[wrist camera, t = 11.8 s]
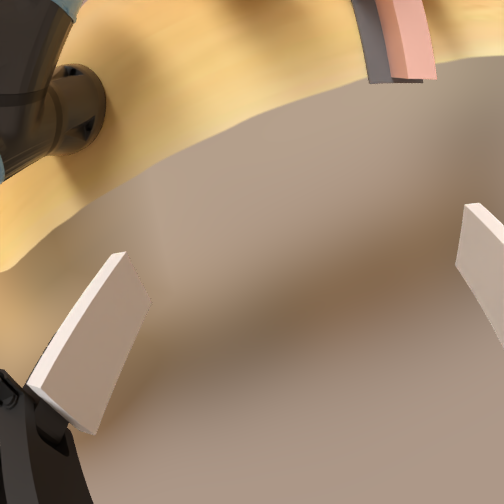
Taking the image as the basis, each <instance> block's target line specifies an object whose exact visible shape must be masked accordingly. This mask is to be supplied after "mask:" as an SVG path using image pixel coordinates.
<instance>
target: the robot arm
mask: <svg viewBox="0 0 504 504" xmlns="http://www.w3.org/2000/svg"><path fill="white" fill-rule="evenodd" d="M82 3H83V0H0V184H2V182H4V181H5V180H7V179H8V178H10V177H12V176H13V175H15V174H16V173H18V172H19V171H21V170H23V169H24V168H26V167H28V166H29V165H31V164H33V163H34V162H36V161H38V160H39V159H41V158H43V157H45V156H58V155H70V154H73V153H76V152H78V151H79V150H81V149H83V148H85V147H87V146H88V145H89V144H90V143H91V142H92V141H93V140H94V139H95V138H96V136H97V135H98V133H99V131H100V129H101V127H102V124H103V121H104V117H105V109H106V101H105V94H104V90H103V87H102V84H101V82H100V80H99V78H98V77H97V76H96V74H95V73H94V72H93V71H92V70H91V69H89V68H88V67H86V66H83V65H80V64H66V65H61V66H57V67H56V64H57V62H58V59H59V56H60V54H61V51H62V49H63V46H64V44H65V42H66V39H67V37H68V35H69V32H70V30H71V28H72V26H73V24H74V23H75V22H76V19H77V18H76V16H77V14H78V11H79V9H80V7H81V5H82ZM455 266H456V267H457V269H458V270H459V272H460V273H461V275H462V276H463V278H464V279H465V281H466V283H467V284H468V286H469V287H470V289H471V291H472V292H473V294H474V295H475V297H476V299H477V300H478V302H479V304H480V306H481V307H482V309H483V311H484V313H485V314H486V316H487V318H488V320H489V322H490V324H491V325H492V327H493V329H494V331H495V333H496V335H497V337H498V339H499V341H500V343H501V345H502V347H503V349H504V225H503V224H502V223H501V222H500V221H498V219H496V218H495V217H494V216H493V215H492V214H491V213H490V212H489V211H488V210H487V209H486V208H485V207H484V206H482V205H481V204H480V203H473V204H465V205H464V213H463V221H462V228H461V235H460V241H459V247H458V253H457V258H456V263H455ZM151 304H152V301H151V299H150V298H149V295H148V294H147V292H146V290H145V288H144V286H143V284H142V282H141V280H140V278H139V276H138V274H137V272H136V270H135V268H134V266H133V264H132V262H131V260H130V258H129V256H128V254H127V252H120V253H114V254H112V255H111V256H110V257H109V259H108V260H107V261H106V262H105V264H104V265H103V267H102V268H101V269H100V270H99V272H98V273H97V275H96V276H95V277H94V279H93V280H92V281H91V283H90V284H89V285H88V287H87V288H86V290H85V291H84V292H83V294H82V295H81V297H80V298H79V300H78V301H77V302H76V304H75V305H74V307H73V308H72V310H71V311H70V313H69V314H68V316H67V317H66V319H65V320H64V322H63V324H62V325H61V326H60V328H59V330H58V331H57V332H56V333H55V334H54V336H53V337H52V339H51V340H50V342H49V344H48V347H46V349H45V350H44V352H43V355H42V356H41V357H40V359H39V361H38V362H37V364H36V366H35V367H34V369H33V371H32V372H31V374H30V376H29V378H28V380H27V381H26V383H25V385H24V386H23V388H21V387H20V386H19V385H18V384H17V383H16V382H15V381H14V380H13V378H12V377H11V376H10V375H9V374H8V373H7V372H6V371H5V370H3V369H0V504H93V501H92V498H91V496H90V493H89V490H88V487H87V484H86V481H85V478H84V475H83V472H82V469H81V465H80V462H79V458H78V455H77V451H76V447H75V444H74V440H73V436H72V433H71V431H70V430H69V429H68V428H67V426H68V423H71V424H72V425H73V426H74V427H75V428H77V429H78V430H79V431H82V432H86V433H89V434H92V435H96V432H97V429H98V427H99V424H100V422H101V419H102V416H103V414H104V411H105V409H106V406H107V404H108V401H109V399H110V396H111V394H112V391H113V389H114V387H115V384H116V382H117V379H118V377H119V375H120V372H121V370H122V368H123V365H124V363H125V361H126V359H127V356H128V354H129V352H130V350H131V347H132V345H133V343H134V340H135V338H136V336H137V334H138V332H139V330H140V327H141V325H142V323H143V321H144V319H145V317H146V315H147V312H148V311H149V308H150V306H151Z"/></svg>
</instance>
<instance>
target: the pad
mask: <svg viewBox="0 0 504 504" xmlns="http://www.w3.org/2000/svg"><path fill="white" fill-rule="evenodd" d="M351 2H352V5H353V9H354V13H355V17H356V21H357V25H358V29H359V34H360V38H361V43H362V47H363V52H364V57H365V63H366V68H367V74H368V80H369V83H370V84H375V83H376V84H377V83H423V79H406V78H394V77H391V73H390V67H389V61H388V56H387V50H386V45H385V40H384V35H383V31H382V26H381V22H380V18H379V14H378V10H377V6H376V2H375V0H351Z"/></svg>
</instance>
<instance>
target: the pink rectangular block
mask: <svg viewBox="0 0 504 504" xmlns="http://www.w3.org/2000/svg"><path fill="white" fill-rule="evenodd" d="M375 2H376V6H377V10H378V14H379V18H380V22H381V26H382V31H383V35H384V40H385V45H386V50H387V56H388V61H389V67H390V73H391V77H394V78H406V79H435V80H436V79H437V75H436V68H435V61H434V55H433V49H432V43H431V38H430V33H429V28H428V24H427V19H426V15H425V11H424V7H423V3H422V0H375Z"/></svg>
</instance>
